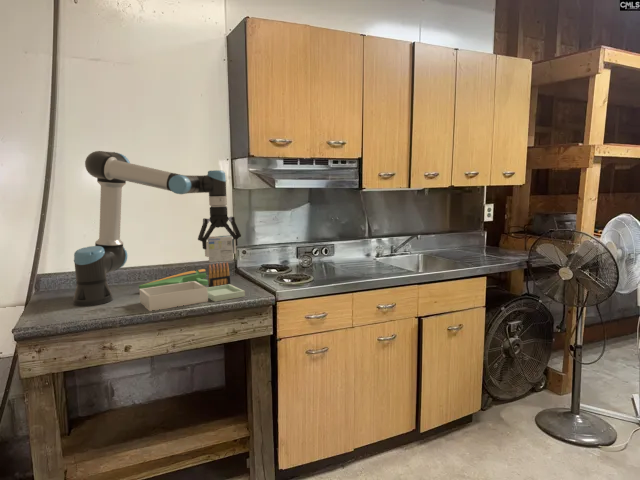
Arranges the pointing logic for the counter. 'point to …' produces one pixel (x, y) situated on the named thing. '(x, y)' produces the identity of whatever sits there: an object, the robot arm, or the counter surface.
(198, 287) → the deep bin
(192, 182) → the robot arm
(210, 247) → the light bulb box
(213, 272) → the ammunition clip
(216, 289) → the tray
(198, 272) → the toy spaceship
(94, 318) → the counter surface
